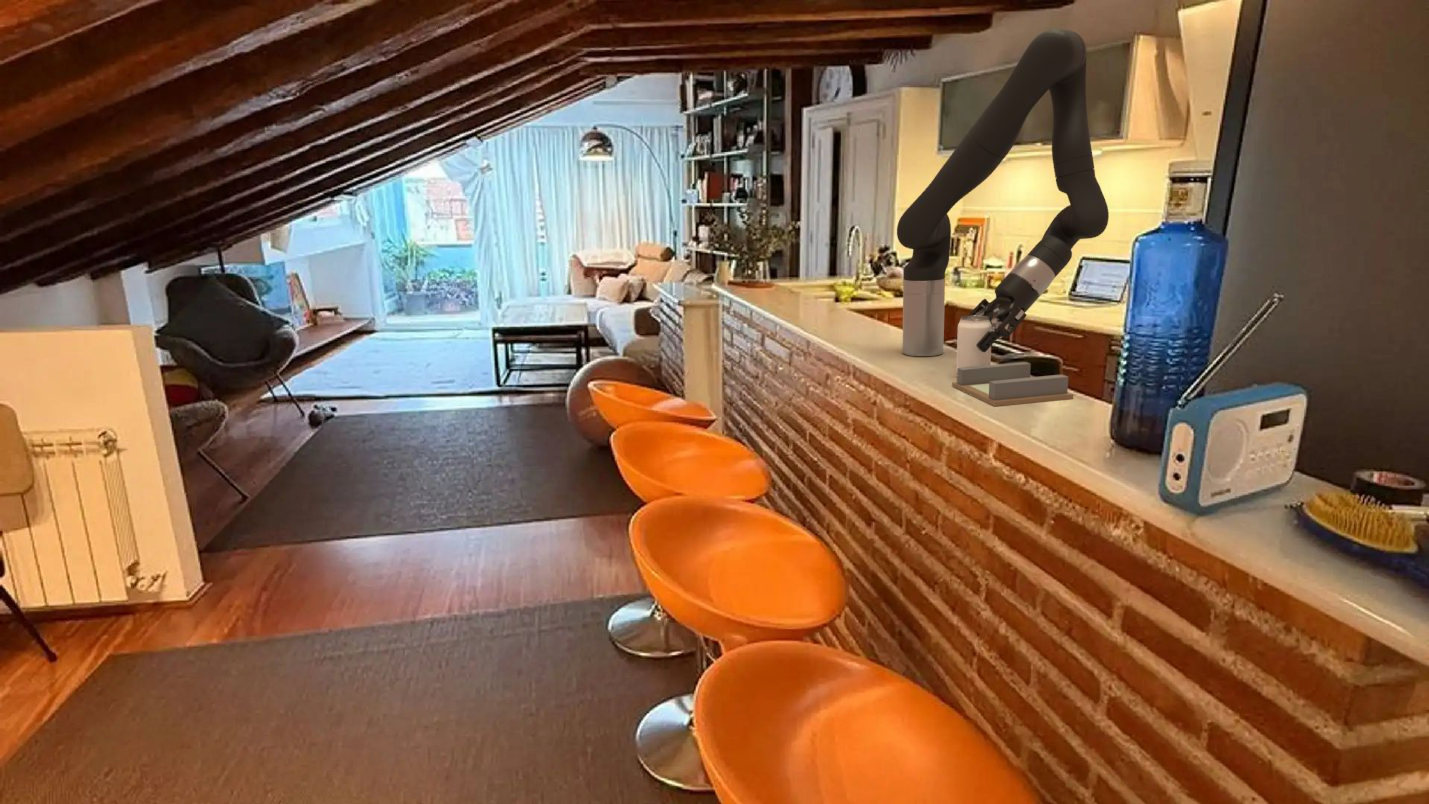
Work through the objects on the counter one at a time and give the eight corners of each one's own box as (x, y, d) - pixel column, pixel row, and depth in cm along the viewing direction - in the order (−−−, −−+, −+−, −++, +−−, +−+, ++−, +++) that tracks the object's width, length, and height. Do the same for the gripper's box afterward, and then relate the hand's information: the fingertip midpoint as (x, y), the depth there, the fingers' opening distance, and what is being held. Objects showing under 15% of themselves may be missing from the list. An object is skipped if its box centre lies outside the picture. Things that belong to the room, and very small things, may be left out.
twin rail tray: (952, 386, 153) (952, 367, 152) (1023, 379, 156) (1024, 360, 155) (994, 406, 138) (995, 385, 137) (1073, 398, 140) (1074, 377, 140)
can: (985, 372, 163) (988, 314, 160) (993, 379, 157) (995, 319, 154) (953, 373, 164) (955, 315, 161) (959, 380, 158) (961, 320, 155)
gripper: (994, 268, 163) (941, 328, 164) (1033, 274, 150) (974, 339, 151) (1017, 292, 165) (964, 351, 166) (1057, 300, 152) (999, 364, 153)
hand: (969, 345), depth 158 cm, fingers open, 8 cm apart
